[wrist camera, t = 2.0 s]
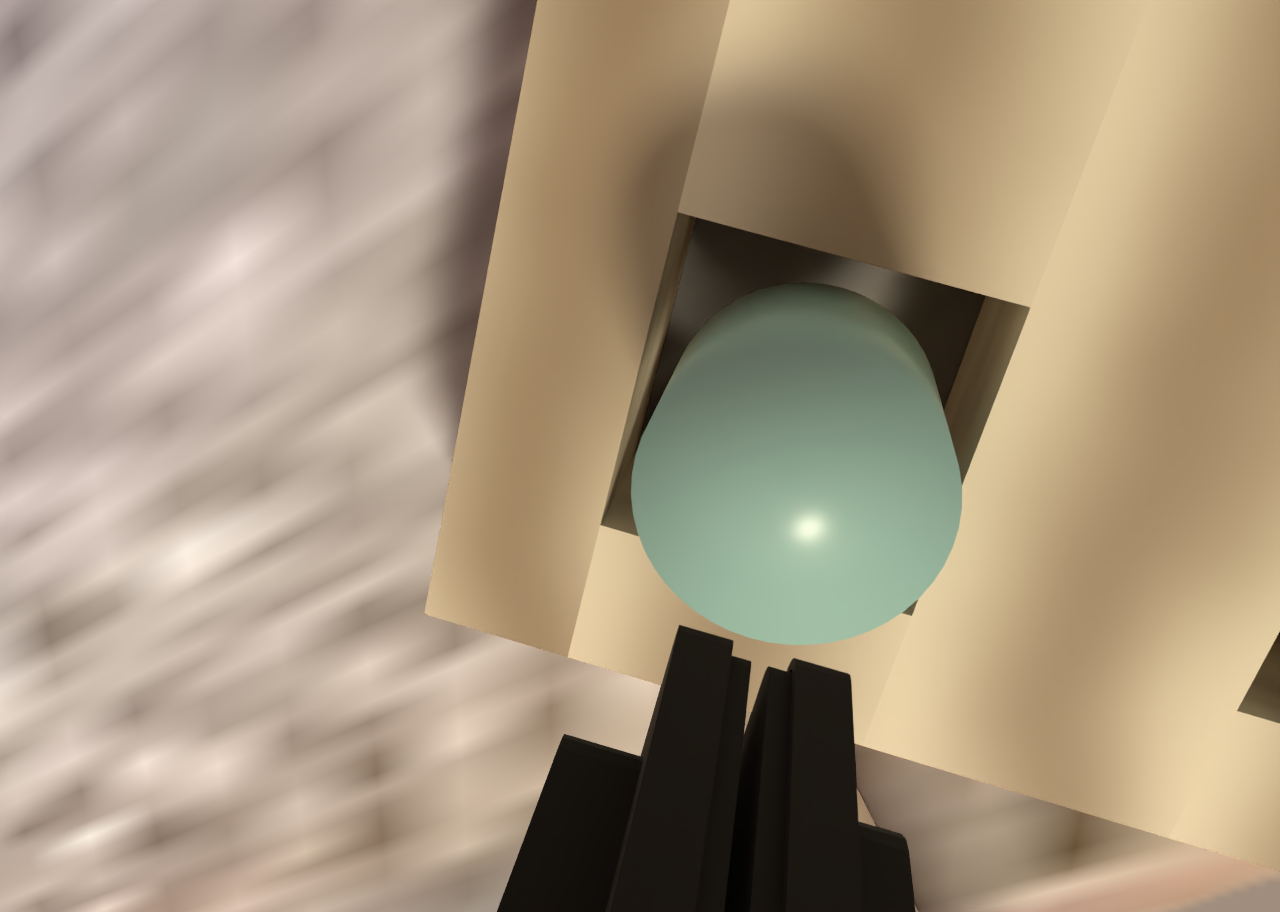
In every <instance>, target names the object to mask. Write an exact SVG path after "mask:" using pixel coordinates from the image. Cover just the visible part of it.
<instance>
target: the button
mask: <svg viewBox="0 0 1280 912" xmlns="http://www.w3.org/2000/svg"><path fill="white" fill-rule="evenodd" d="M631 499H632V509H633V516H634V520H635V524H636V528H637V532H638V535H639V538H640V540H641V543H642V545H643V548H644V550H645V552H646V554H647V556H648V558H649V560H650V561H651V563H652V565H653V567H654V569H655V570H656V571H657V573H658V574H659V575H660V577H661V578H662V579H663V581H664V582H665V584H666V585H667V586H668V587H669V588H670V589H671V590H672V591H673V592H674V593H675V594H676V595H677V596H678V597H679V598H680V599H681V600H682V601H683V602H684V603H686V604H687V605H688V606H689V607H690V608H692V609H693V610H694V611H695V612H697V613H699V614H700V615H702V616H703V617H705V618H706V619H708V620H709V621H711V622H713V623H715V624H717V625H719V626H721V627H723V628H725V629H727V630H729V631H731V632H734V633H737V634H740V635H742V636H745V637H748V638H752V639H756V640H760V641H765V642H769V643H778V644H786V645H814V644H823V643H831V642H835V641H840V640H844V639H848V638H852V637H855V636H857V635H860V634H863V633H866V632H869V631H871V630H873V629H875V628H877V627H879V626H881V625H883V624H885V623H887V622H889V621H890V620H891V619H893V618H894V617H896V616H897V615H899V614H900V613H902V612H903V611H905V610H906V609H907V608H908V607H909V606H911V605H912V604H913V603H914V602H915V601H916V600H917V599H919V598H920V597H921V596H922V594H923V593H924V592H925V591H926V590H927V589H928V588H929V586H930V585H931V584H932V583H933V582H934V580H935V579H936V577H937V576H938V574H939V573H940V571H941V570H942V568H943V567H944V565H945V563H946V561H947V559H948V556H949V554H950V552H951V550H952V548H953V545H954V542H955V539H956V536H957V532H958V529H959V524H960V517H961V511H962V483H961V476H960V469H959V465H958V461H957V457H956V454H955V450H954V446H953V443H952V439H951V436H950V432H949V428H948V425H947V421H946V417H945V414H944V410H943V407H942V403H941V399H940V396H939V392H938V388H937V385H936V381H935V378H934V375H933V371H932V368H931V366H930V363H929V361H928V359H927V357H926V355H925V352H924V351H923V349H922V348H921V346H920V345H919V343H918V341H917V340H916V338H915V337H914V336H913V335H912V333H911V332H910V331H909V330H908V329H907V327H906V326H905V325H904V324H903V323H902V322H901V321H900V320H899V319H897V318H896V317H895V316H894V315H893V314H892V313H891V312H889V311H888V310H886V309H885V308H884V307H882V306H881V305H879V304H878V303H876V302H875V301H873V300H871V299H869V298H867V297H865V296H862V295H860V294H858V293H856V292H853V291H850V290H847V289H844V288H841V287H836V286H831V285H826V284H818V283H788V284H782V285H776V286H771V287H767V288H764V289H761V290H758V291H754V292H751V293H749V294H747V295H745V296H743V297H741V298H739V299H737V300H735V301H733V302H731V303H730V304H728V305H727V306H725V307H724V308H722V309H721V310H719V311H718V312H717V313H716V314H715V315H713V316H712V317H711V318H710V319H709V320H708V321H707V322H706V323H705V324H704V325H703V326H702V327H701V328H700V329H699V330H698V332H697V333H696V334H695V335H694V337H693V338H692V340H691V341H690V343H689V344H688V345H687V347H686V349H685V351H684V353H683V355H682V357H681V359H680V361H679V363H678V365H677V367H676V369H675V371H674V373H673V375H672V377H671V379H670V381H669V383H668V385H667V387H666V389H665V391H664V393H663V395H662V397H661V399H660V401H659V403H658V405H657V407H656V409H655V411H654V413H653V415H652V417H651V419H650V421H649V423H648V425H647V427H646V429H645V431H644V433H643V435H642V437H641V440H640V443H639V446H638V449H637V452H636V455H635V460H634V466H633V471H632V483H631Z"/></svg>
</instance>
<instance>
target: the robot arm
mask: <svg viewBox="0 0 1280 912" xmlns="http://www.w3.org/2000/svg"><path fill="white" fill-rule="evenodd" d="M733 642H734V641H733V640H731V639H727V638H724V637H720V636H717V635H713V634H710V633H706V632H703V631H700V630H696V629H693V628H689V627H686V626H682V625H679V627H678V630H677V633H676V636H675V639H674V643H673V646H672V650H671V653H670V657H669V660H668V664H667V667H666V670H665V674H664V677H663V681H662V684H661V688H660V691H659V695H658V698H657V702H656V705H655V708H654V712H653V715H652V719H651V722H650V726H649V729H648V733H647V736H646V740H645V743H644V746H643V750H642V753H641V757H640V756H637V755H633V754H630V753H627V752H623V751H620V750H617V749H613V748H610V747H607V746H603V745H600V744H596V743H593V742H590V741H586V740H583V739H580V738H576V737H573V736H569V735H566V734H564V736H563V737H562V740H561V742H560V745H559V747H558V750H557V752H556V755H555V758H554V760H553V763H552V766H551V768H550V771H549V774H548V776H547V779H546V782H545V784H544V787H543V790H542V792H541V795H540V798H539V800H538V803H537V806H536V808H535V811H534V814H533V817H532V819H531V822H530V825H529V827H528V830H527V833H526V835H525V838H524V841H523V843H522V846H521V849H520V851H519V854H518V857H517V859H516V862H515V865H514V867H513V870H512V873H511V875H510V878H509V881H508V883H507V886H506V889H505V891H504V894H503V897H502V900H501V902H500V905H499V908H498V910H497V912H916V911H915V902H914V893H913V884H912V875H911V866H910V857H909V850H908V846H907V841H906V839H905V838H904V837H903V835H902V834H900V833H896V832H893V831H889V830H886V829H883V828H879V827H876V826H873V825H869V824H866V823H862V822H859V821H858V802H857V783H856V763H855V743H854V724H853V704H852V684H851V676H850V674H848V673H845V672H841V671H838V670H834V669H831V668H827V667H824V666H820V665H817V664H814V663H810V662H807V661H803V660H800V659H796V658H793V659H792V660H791V662H790V664H789V666H788V669H787V671H783V670H780V669H777V668H773V667H770V666H768V667H767V669H766V671H765V673H764V676H763V679H762V682H761V685H760V688H759V691H758V694H757V697H756V700H755V703H754V706H753V709H752V712H751V715H750V718H749V721H748V724H747V727H746V730H745V733H744V727H745V718H746V709H747V700H748V691H749V682H750V673H751V661H749V660H746V659H742V658H739V657H735V656H732V651H733Z"/></svg>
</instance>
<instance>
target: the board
mask: <svg viewBox="0 0 1280 912" xmlns="http://www.w3.org/2000/svg"><path fill="white" fill-rule="evenodd" d="M696 217H697V218H701V219H705V220H708V221H712V222H716V223H720V224H723V225H727V226H731V227H734V228H738V229H742V230H745V231H749V232H753V233H757V234H760V235H764V236H768V237H771V238H775V239H779V240H782V241H786V242H790V243H794V244H797V245H801V246H805V247H808V248H812V249H816V250H819V251H823V252H827V253H831V254H834V255H838V256H842V257H845V258H849V259H853V260H857V261H860V262H864V263H868V264H871V265H875V266H879V267H882V268H886V269H890V270H894V271H897V272H901V273H905V274H908V275H912V276H916V277H919V278H923V279H927V280H931V281H934V282H938V283H942V284H945V285H949V286H953V287H956V288H960V289H964V290H968V291H971V292H975V293H979V294H982V295H986V297H985V299H984V302H983V305H982V308H981V310H980V313H979V316H978V318H977V321H976V324H975V327H974V329H973V332H972V335H971V338H970V340H969V343H968V346H967V348H966V351H965V354H964V357H963V359H962V362H961V365H960V368H959V370H958V373H957V376H956V378H955V381H954V384H953V387H952V389H951V392H950V395H949V398H948V400H947V403H946V406H945V408H944V414H945V417H946V421H947V425H948V428H949V432H950V436H951V439H952V443H953V446H954V450H955V454H956V457H957V461H958V465H959V469H960V476H961V483H962V511H961V517H960V524H959V529H958V532H957V536H956V539H955V542H954V545H953V548H952V550H951V552H950V554H949V556H948V559H947V561H946V563H945V565H944V567H943V568H942V570H941V571H940V573H939V574H938V576H937V577H936V579H935V580H934V582H933V583H932V584H931V585H930V586H929V588H928V589H927V590H926V591H925V592H924V593H923V594H922V596H921V597H920V598H919V599H917V600H916V601H915V602H914V603H913V604H912V605H911V606H909V607H908V608H907V609H906V610H905V611H903V612H902V613H900V614H899V615H897V616H896V617H894V618H893V619H891V620H890V621H889V622H887V623H885V624H883V625H881V626H879V627H877V628H875V629H873V630H871V631H869V632H866V633H863V634H860V635H857V636H855V637H852V638H848V639H844V640H840V641H835V642H831V643H823V644H814V645H786V644H778V643H769V642H765V641H760V640H756V639H752V638H748V637H745V636H742V635H740V634H737V633H734V632H731V631H729V630H727V629H725V628H723V627H721V626H719V625H717V624H715V623H713V622H711V621H709V620H708V619H706V618H705V617H703V616H702V615H700V614H699V613H697V612H695V611H694V610H693V609H692V608H690V607H689V606H688V605H687V604H686V603H684V602H683V601H682V600H681V599H680V598H679V597H678V596H677V595H676V594H675V593H674V592H673V591H672V590H671V589H670V588H669V587H668V586H667V585H666V584H665V582H664V581H663V579H662V578H661V577H660V575H659V574H658V573H657V571H656V570H655V569H654V567H653V565H652V563H651V561H650V560H649V558H648V556H647V554H646V552H645V550H644V548H643V545H642V543H641V540H640V538H639V535H638V532H637V528H636V524H635V520H634V516H633V509H632V499H631V483H632V471H633V466H634V460H635V455H636V452H637V447H638V443H639V439H640V435H641V431H642V427H643V423H644V419H645V416H646V412H647V408H648V404H649V400H650V396H651V392H652V388H653V384H654V380H655V376H656V372H657V368H658V364H659V360H660V356H661V353H662V349H663V345H664V341H665V337H666V333H667V329H668V325H669V321H670V317H671V313H672V309H673V305H674V301H675V297H676V294H677V290H678V286H679V282H680V278H681V274H682V270H683V266H684V262H685V258H686V254H687V250H688V246H689V242H690V238H691V234H692V231H693V227H694V223H695V219H696ZM425 614H426V615H430V616H433V617H436V618H440V619H443V620H446V621H450V622H453V623H456V624H460V625H463V626H466V627H470V628H473V629H476V630H479V631H483V632H486V633H489V634H493V635H496V636H499V637H503V638H506V639H509V640H513V641H516V642H519V643H523V644H526V645H529V646H533V647H536V648H539V649H543V650H546V651H549V652H552V653H556V654H559V655H562V656H566V657H569V658H572V659H576V660H579V661H582V662H586V663H589V664H592V665H596V666H599V667H602V668H606V669H609V670H612V671H616V672H619V673H622V674H625V675H629V676H632V677H635V678H639V679H642V680H645V681H649V682H652V683H655V684H659V685H661V684H662V681H663V677H664V674H665V670H666V667H667V664H668V660H669V657H670V653H671V650H672V646H673V643H674V639H675V636H676V633H677V630H678V627H679V625H682V626H686V627H689V628H693V629H696V630H700V631H703V632H706V633H710V634H713V635H717V636H720V637H724V638H727V639H731V640H733V641H734V642H733V651H732V656H735V657H739V658H742V659H746V660H749V661H751V673H750V682H749V691H748V700H747V709H746V711H748V712H752V709H753V706H754V703H755V700H756V697H757V694H758V691H759V688H760V685H761V682H762V679H763V676H764V673H765V671H766V669H767V667H768V666H770V667H773V668H777V669H780V670H783V671H787V669H788V666H789V664H790V662H791V660H792V659H793V658H796V659H800V660H803V661H807V662H810V663H814V664H817V665H820V666H824V667H827V668H831V669H834V670H838V671H841V672H845V673H848V674H850V676H851V684H852V704H853V724H854V743H855V744H858V745H861V746H864V747H868V748H871V749H874V750H878V751H881V752H884V753H888V754H891V755H894V756H898V757H901V758H904V759H908V760H911V761H914V762H918V763H921V764H924V765H927V766H931V767H934V768H937V769H941V770H944V771H947V772H951V773H954V774H957V775H961V776H964V777H967V778H971V779H974V780H977V781H981V782H984V783H987V784H991V785H994V786H997V787H1001V788H1004V789H1007V790H1010V791H1014V792H1017V793H1020V794H1024V795H1027V796H1030V797H1034V798H1037V799H1040V800H1044V801H1047V802H1050V803H1054V804H1057V805H1060V806H1064V807H1067V808H1070V809H1074V810H1077V811H1080V812H1083V813H1087V814H1090V815H1093V816H1097V817H1100V818H1103V819H1107V820H1110V821H1113V822H1117V823H1120V824H1123V825H1127V826H1130V827H1133V828H1137V829H1140V830H1143V831H1147V832H1150V833H1153V834H1156V835H1160V836H1163V837H1166V838H1170V839H1173V840H1176V841H1180V842H1183V843H1186V844H1190V845H1193V846H1196V847H1200V848H1203V849H1206V850H1210V851H1213V852H1216V853H1220V854H1223V855H1226V856H1230V857H1233V858H1236V859H1239V860H1243V861H1246V862H1249V863H1253V864H1256V865H1259V866H1263V867H1266V868H1269V869H1273V870H1276V871H1279V872H1280V636H1279V635H1278V634H1279V632H1280V0H537V5H536V10H535V16H534V21H533V27H532V32H531V37H530V43H529V48H528V54H527V59H526V65H525V70H524V75H523V81H522V86H521V92H520V97H519V103H518V108H517V114H516V119H515V124H514V130H513V135H512V141H511V146H510V152H509V157H508V162H507V168H506V173H505V179H504V184H503V190H502V195H501V201H500V206H499V211H498V217H497V222H496V228H495V233H494V239H493V244H492V249H491V255H490V260H489V266H488V271H487V277H486V282H485V288H484V293H483V298H482V304H481V309H480V315H479V320H478V326H477V331H476V336H475V342H474V347H473V353H472V358H471V364H470V369H469V374H468V380H467V385H466V391H465V396H464V402H463V407H462V413H461V418H460V423H459V429H458V434H457V440H456V445H455V451H454V456H453V461H452V467H451V472H450V478H449V483H448V489H447V494H446V500H445V505H444V510H443V516H442V521H441V527H440V532H439V538H438V543H437V548H436V554H435V559H434V565H433V570H432V576H431V581H430V586H429V592H428V597H427V603H426V608H425Z"/></svg>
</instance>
